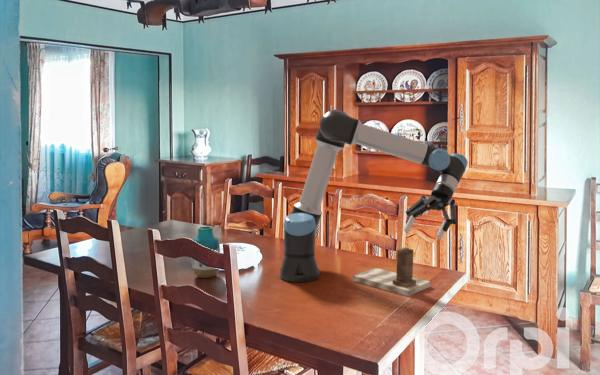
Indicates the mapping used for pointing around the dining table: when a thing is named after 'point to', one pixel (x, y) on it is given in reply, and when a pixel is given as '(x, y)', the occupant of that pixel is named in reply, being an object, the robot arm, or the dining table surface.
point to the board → (389, 281)
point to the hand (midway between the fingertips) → (421, 234)
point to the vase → (211, 242)
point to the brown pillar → (404, 268)
